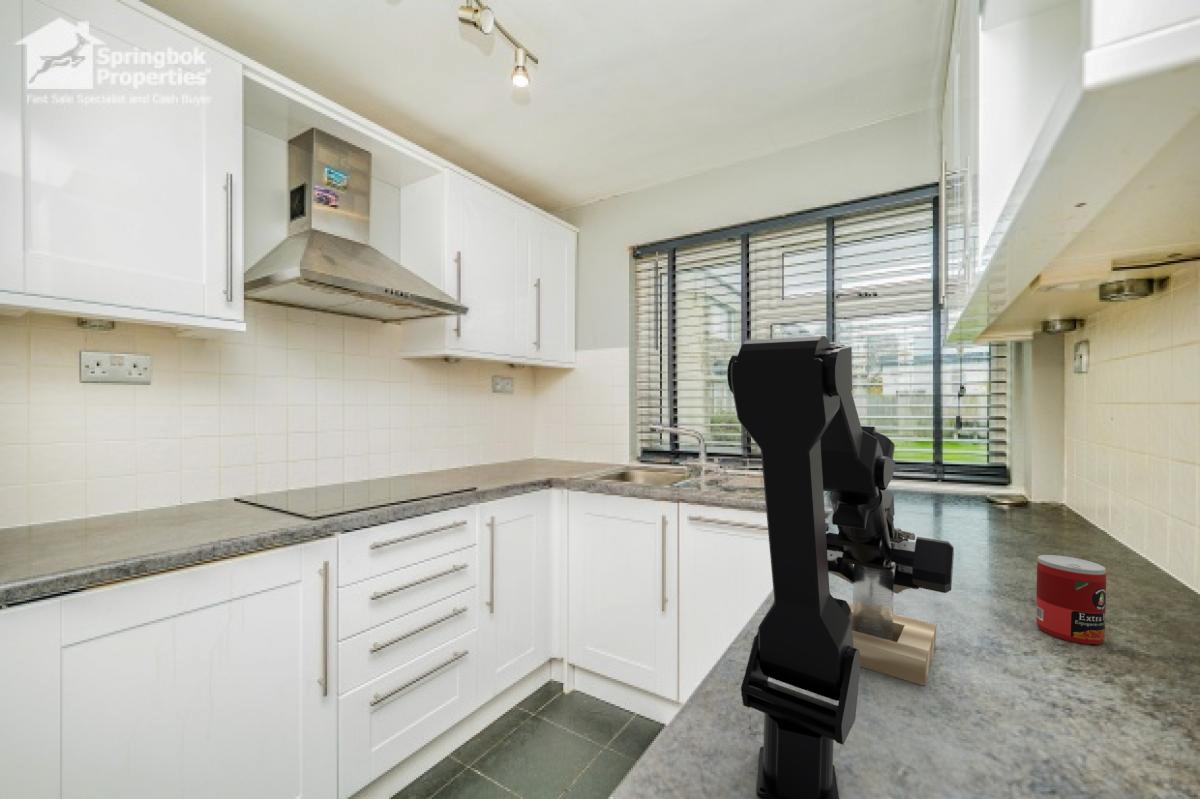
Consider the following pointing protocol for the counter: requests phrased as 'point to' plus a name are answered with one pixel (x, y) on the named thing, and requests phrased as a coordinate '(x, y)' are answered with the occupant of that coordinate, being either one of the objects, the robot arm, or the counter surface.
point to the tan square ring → (899, 649)
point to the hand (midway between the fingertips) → (875, 585)
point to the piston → (873, 601)
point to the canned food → (1071, 599)
